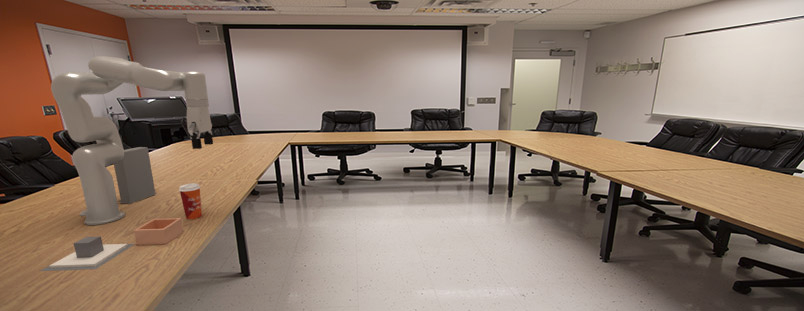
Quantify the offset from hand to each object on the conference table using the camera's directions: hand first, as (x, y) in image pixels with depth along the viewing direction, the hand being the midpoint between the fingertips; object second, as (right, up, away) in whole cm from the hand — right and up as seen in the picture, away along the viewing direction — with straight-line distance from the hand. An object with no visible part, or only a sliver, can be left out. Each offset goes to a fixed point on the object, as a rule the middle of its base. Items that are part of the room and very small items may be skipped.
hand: (203, 146), depth 131 cm
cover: (-20, -36, -26) cm, 49 cm away
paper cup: (-8, -30, +7) cm, 32 cm away
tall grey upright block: (-51, -26, +30) cm, 64 cm away
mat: (-20, -37, -26) cm, 50 cm away
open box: (-7, -34, -14) cm, 38 cm away
